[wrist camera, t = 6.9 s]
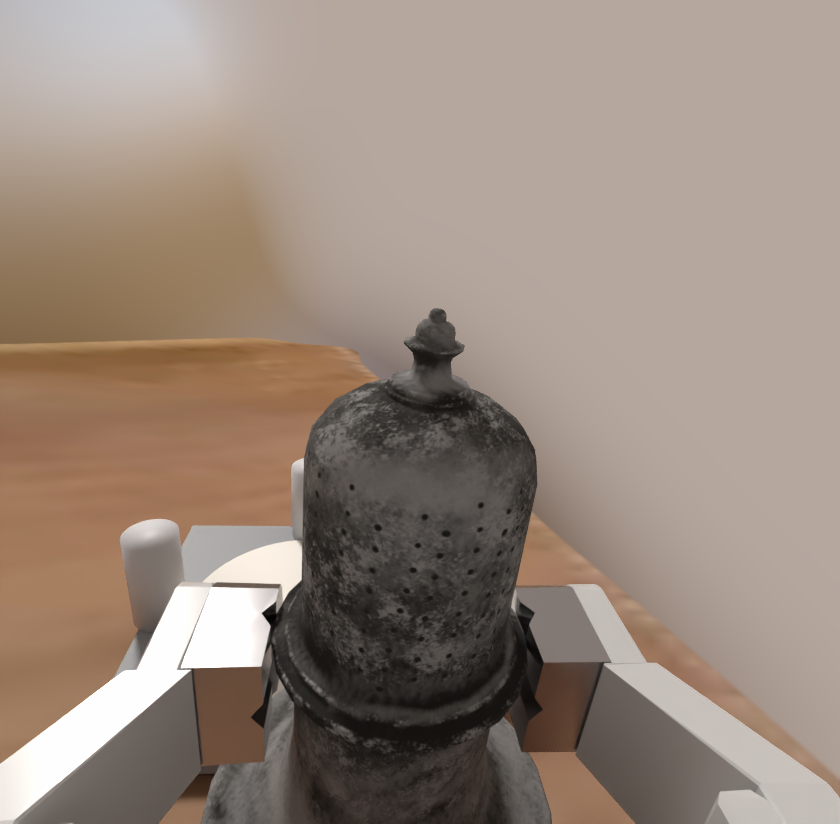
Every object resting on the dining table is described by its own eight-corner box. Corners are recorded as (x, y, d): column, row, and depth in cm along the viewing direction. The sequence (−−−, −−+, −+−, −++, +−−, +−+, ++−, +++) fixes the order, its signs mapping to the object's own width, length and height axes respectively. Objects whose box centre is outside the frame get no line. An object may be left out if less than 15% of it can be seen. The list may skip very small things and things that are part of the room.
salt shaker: (305, 730, 14) (318, 256, 9) (530, 813, 12) (677, 308, 8) (129, 1058, 8) (-56, 310, 4) (492, 1268, 7) (888, 501, 2)
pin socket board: (56, 781, 14) (23, 671, 12) (187, 531, 24) (179, 454, 23) (480, 760, 15) (498, 658, 14) (433, 532, 26) (440, 460, 24)
